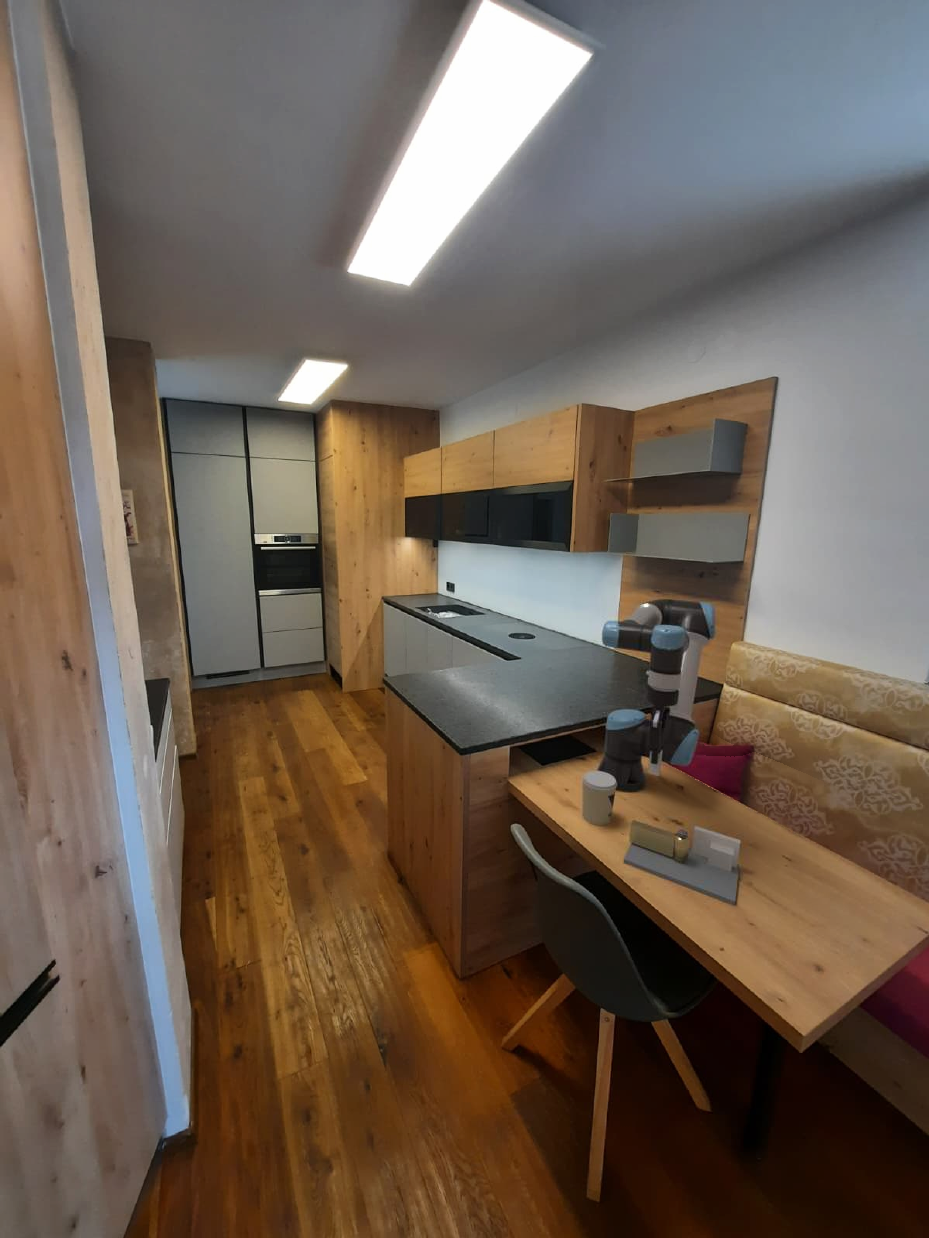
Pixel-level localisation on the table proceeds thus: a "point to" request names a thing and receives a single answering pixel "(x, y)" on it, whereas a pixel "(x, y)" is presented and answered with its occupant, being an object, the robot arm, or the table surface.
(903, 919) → the table surface
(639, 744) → the robot arm
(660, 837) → the swing bar
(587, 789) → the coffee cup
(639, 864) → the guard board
